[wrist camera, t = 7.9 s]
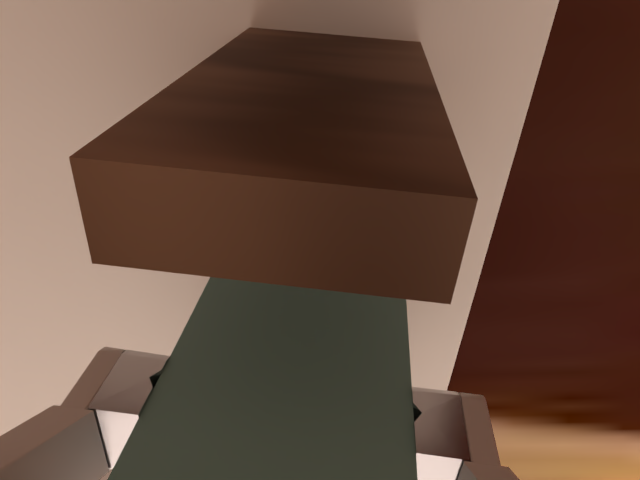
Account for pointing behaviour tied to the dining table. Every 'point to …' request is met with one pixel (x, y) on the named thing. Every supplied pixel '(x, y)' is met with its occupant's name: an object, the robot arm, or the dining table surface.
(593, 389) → the dining table surface
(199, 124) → the domino
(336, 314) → the teal domino
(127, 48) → the mat
